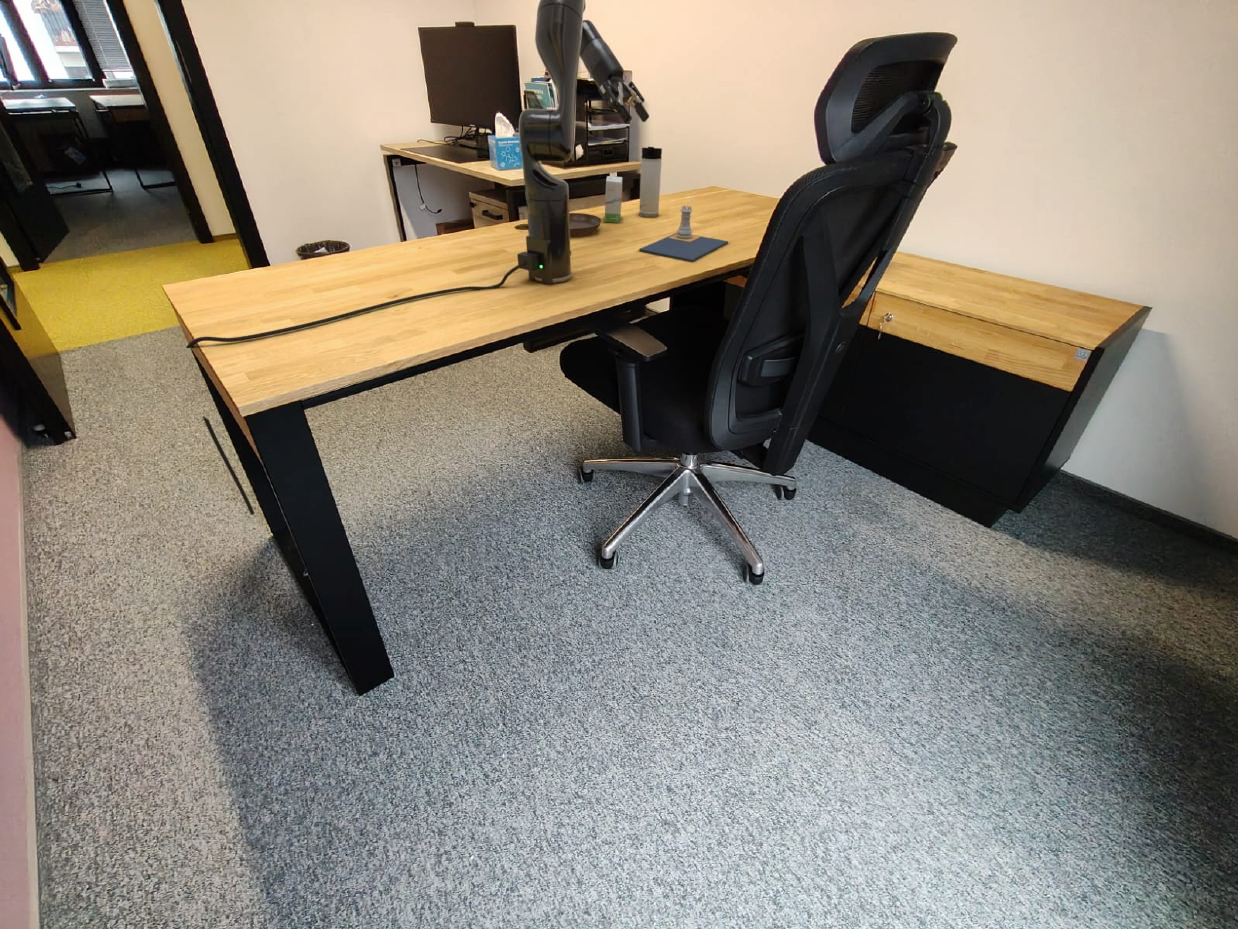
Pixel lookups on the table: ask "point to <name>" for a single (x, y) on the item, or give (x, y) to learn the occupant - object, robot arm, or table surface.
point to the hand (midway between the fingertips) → (638, 120)
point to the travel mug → (650, 181)
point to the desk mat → (684, 247)
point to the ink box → (613, 199)
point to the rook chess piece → (685, 223)
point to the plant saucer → (583, 224)
